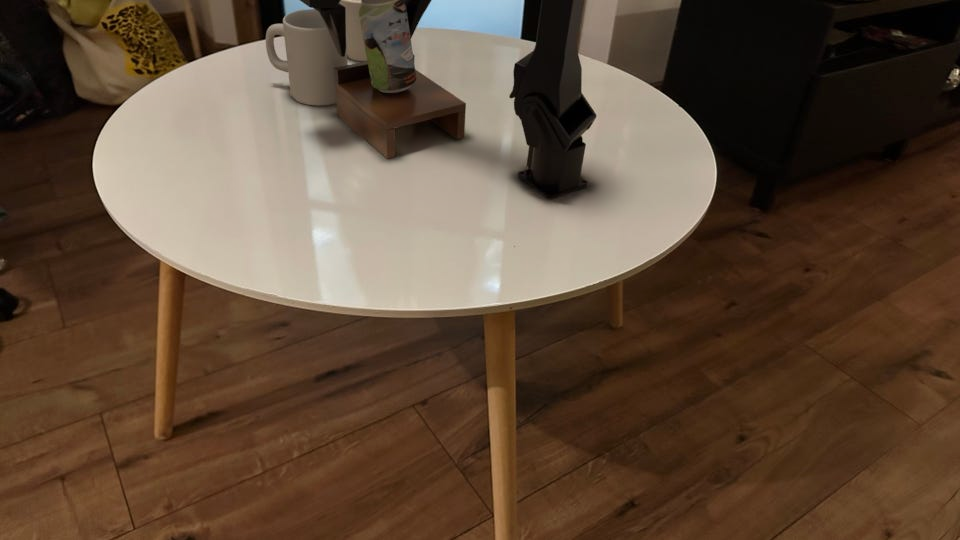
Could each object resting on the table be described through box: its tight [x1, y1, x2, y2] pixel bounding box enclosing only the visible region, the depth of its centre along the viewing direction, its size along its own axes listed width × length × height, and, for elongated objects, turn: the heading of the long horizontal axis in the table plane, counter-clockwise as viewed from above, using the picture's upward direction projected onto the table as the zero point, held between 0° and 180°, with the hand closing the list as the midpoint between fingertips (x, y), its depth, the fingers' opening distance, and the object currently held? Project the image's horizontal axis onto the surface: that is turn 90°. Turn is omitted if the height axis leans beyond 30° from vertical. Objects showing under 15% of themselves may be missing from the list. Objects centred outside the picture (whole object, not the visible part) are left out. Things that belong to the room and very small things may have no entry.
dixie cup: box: [339, 0, 367, 62], centre depth 112 cm, size 8×8×10 cm
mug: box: [265, 8, 349, 106], centre depth 99 cm, size 12×8×11 cm
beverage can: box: [359, 0, 416, 93], centre depth 90 cm, size 6×7×12 cm
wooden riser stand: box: [334, 53, 467, 159], centre depth 94 cm, size 14×12×7 cm
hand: (374, 49), depth 89 cm, fingers open, 9 cm apart
